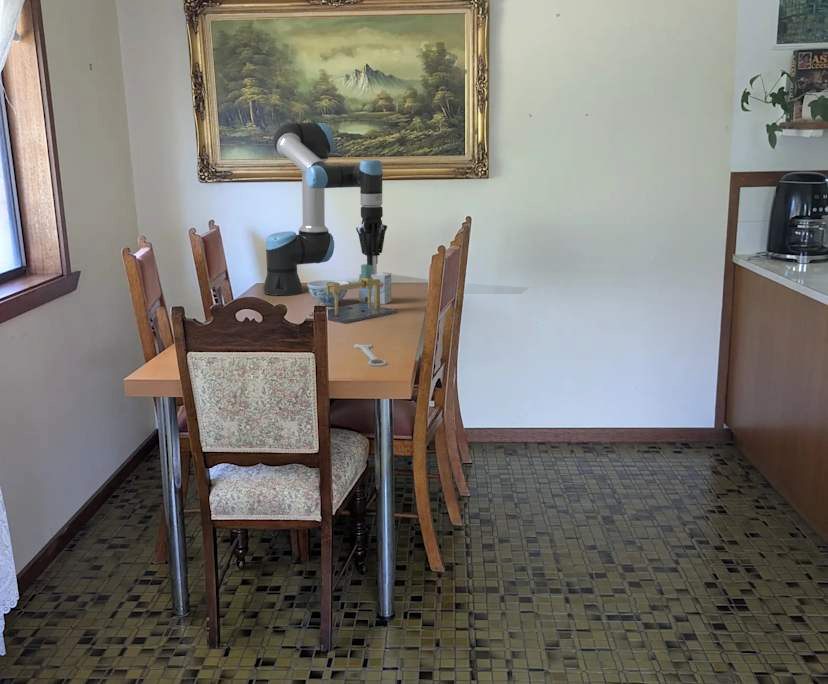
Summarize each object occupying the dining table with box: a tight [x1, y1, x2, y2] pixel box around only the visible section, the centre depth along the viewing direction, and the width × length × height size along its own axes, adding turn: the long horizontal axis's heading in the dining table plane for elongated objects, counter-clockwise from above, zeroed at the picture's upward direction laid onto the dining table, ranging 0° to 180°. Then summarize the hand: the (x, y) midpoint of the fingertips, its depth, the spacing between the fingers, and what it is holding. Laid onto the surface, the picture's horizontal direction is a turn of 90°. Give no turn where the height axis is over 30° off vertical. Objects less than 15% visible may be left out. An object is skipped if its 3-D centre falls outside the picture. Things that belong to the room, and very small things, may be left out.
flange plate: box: [311, 302, 397, 324], centre depth 295 cm, size 18×24×1 cm
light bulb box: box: [358, 271, 393, 305], centre depth 316 cm, size 11×7×11 cm, turn 70°
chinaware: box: [307, 279, 349, 307], centre depth 312 cm, size 15×15×8 cm
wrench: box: [353, 343, 388, 367], centre depth 241 cm, size 25×2×5 cm
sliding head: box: [360, 263, 373, 309], centre depth 298 cm, size 4×2×15 cm, turn 46°
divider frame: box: [326, 279, 381, 316], centre depth 295 cm, size 4×22×11 cm, turn 136°
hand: (372, 274), depth 299 cm, fingers closed
